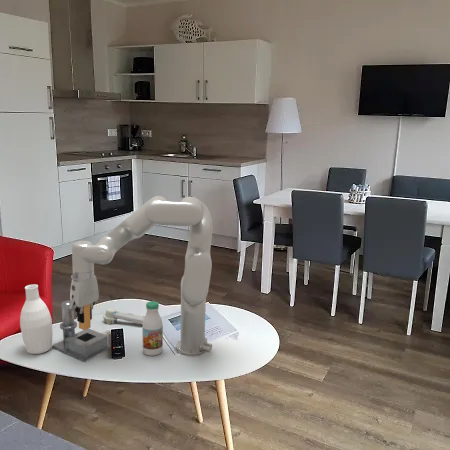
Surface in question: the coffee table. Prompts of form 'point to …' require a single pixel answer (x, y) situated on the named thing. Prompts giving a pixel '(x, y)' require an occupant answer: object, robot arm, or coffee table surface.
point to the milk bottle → (152, 330)
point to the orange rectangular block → (86, 318)
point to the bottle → (35, 322)
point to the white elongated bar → (121, 317)
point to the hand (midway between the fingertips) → (84, 319)
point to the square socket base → (79, 338)
